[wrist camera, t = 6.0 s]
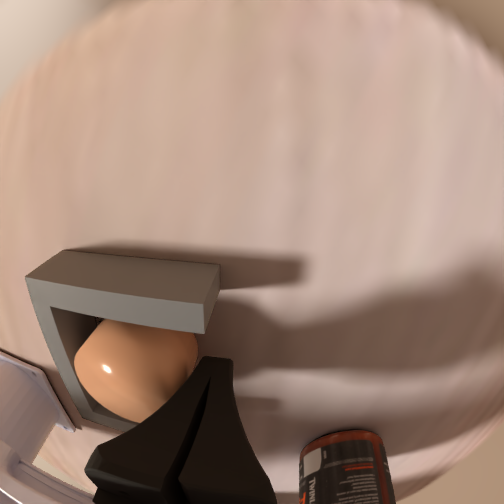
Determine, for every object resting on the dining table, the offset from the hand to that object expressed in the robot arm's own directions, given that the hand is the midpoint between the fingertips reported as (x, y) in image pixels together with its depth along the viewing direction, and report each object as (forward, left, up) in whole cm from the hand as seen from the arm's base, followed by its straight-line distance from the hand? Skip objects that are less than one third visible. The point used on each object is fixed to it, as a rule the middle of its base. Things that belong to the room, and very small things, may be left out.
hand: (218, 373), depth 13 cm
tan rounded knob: (-4, 0, -1) cm, 4 cm away
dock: (-4, 0, -1) cm, 4 cm away
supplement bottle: (+8, -9, -2) cm, 12 cm away
